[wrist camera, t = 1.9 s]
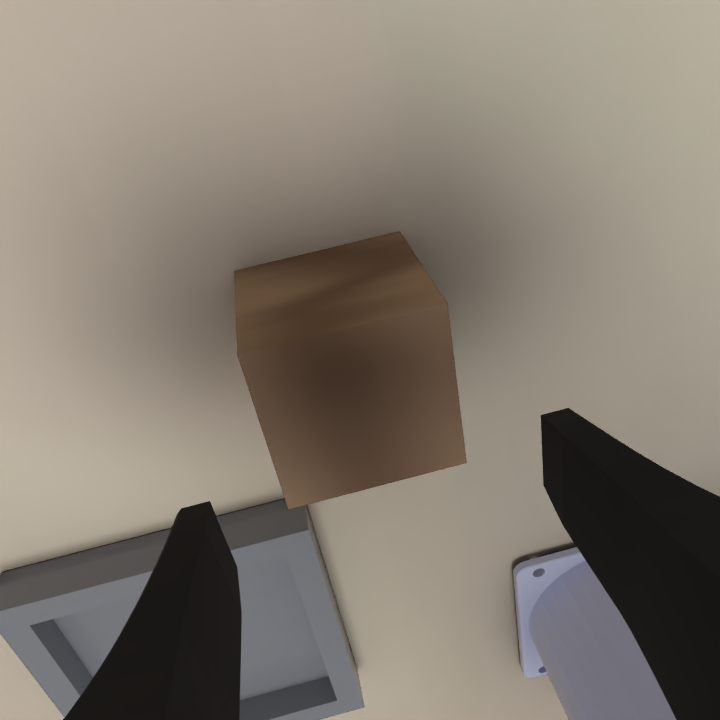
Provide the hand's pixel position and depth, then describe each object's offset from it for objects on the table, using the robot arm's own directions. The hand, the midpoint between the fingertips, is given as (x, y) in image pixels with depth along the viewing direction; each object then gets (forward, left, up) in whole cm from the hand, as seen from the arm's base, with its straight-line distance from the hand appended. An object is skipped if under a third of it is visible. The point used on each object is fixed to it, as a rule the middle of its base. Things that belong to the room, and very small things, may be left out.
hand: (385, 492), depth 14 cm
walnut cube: (0, 0, -8) cm, 8 cm away
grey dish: (+8, +12, -8) cm, 16 cm away
